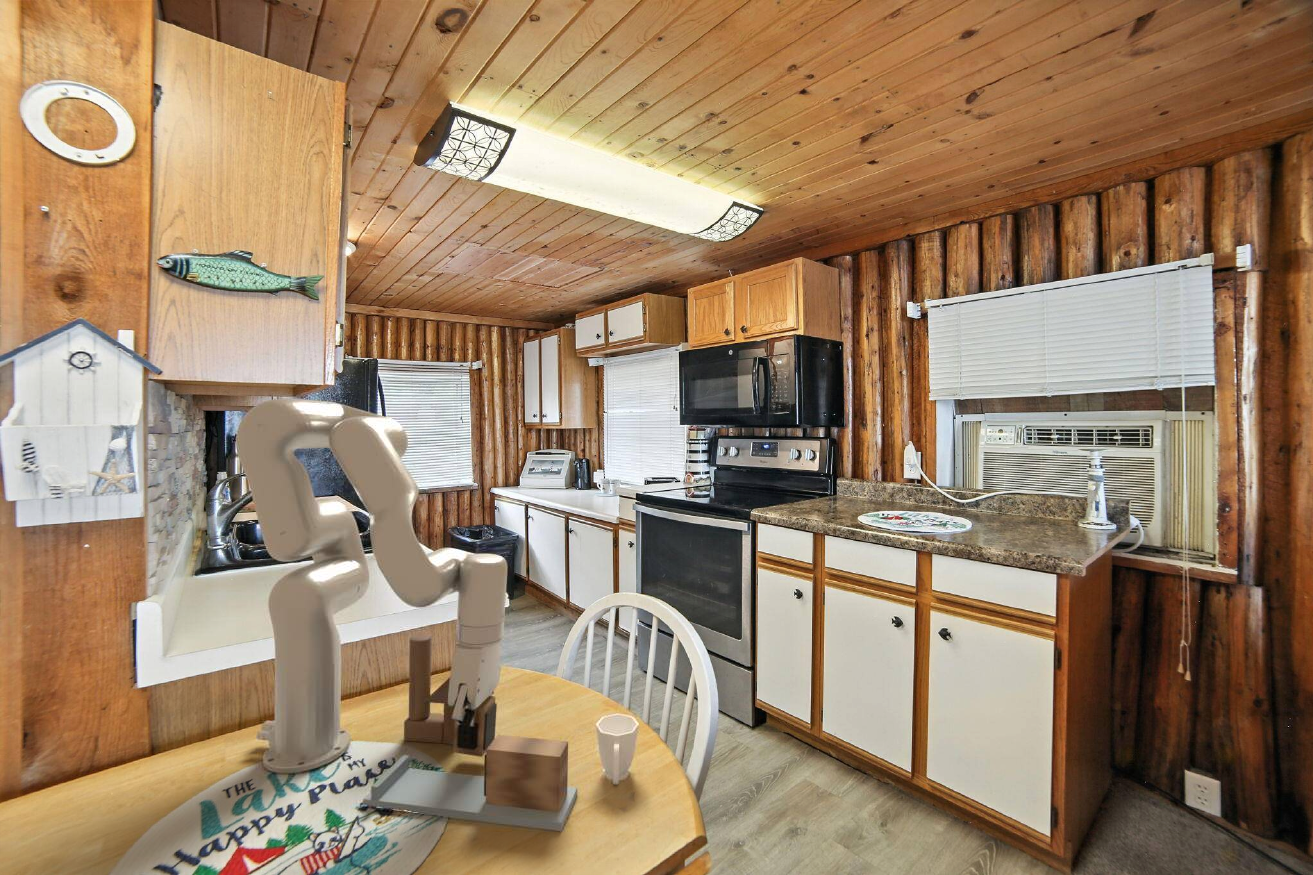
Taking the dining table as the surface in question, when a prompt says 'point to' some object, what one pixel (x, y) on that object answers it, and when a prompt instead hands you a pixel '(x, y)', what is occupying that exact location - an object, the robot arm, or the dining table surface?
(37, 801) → the dining table surface
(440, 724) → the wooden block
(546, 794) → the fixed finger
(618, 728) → the cup
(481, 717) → the brown rectangular block
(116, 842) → the dining table surface
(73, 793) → the dining table surface
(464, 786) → the rail
